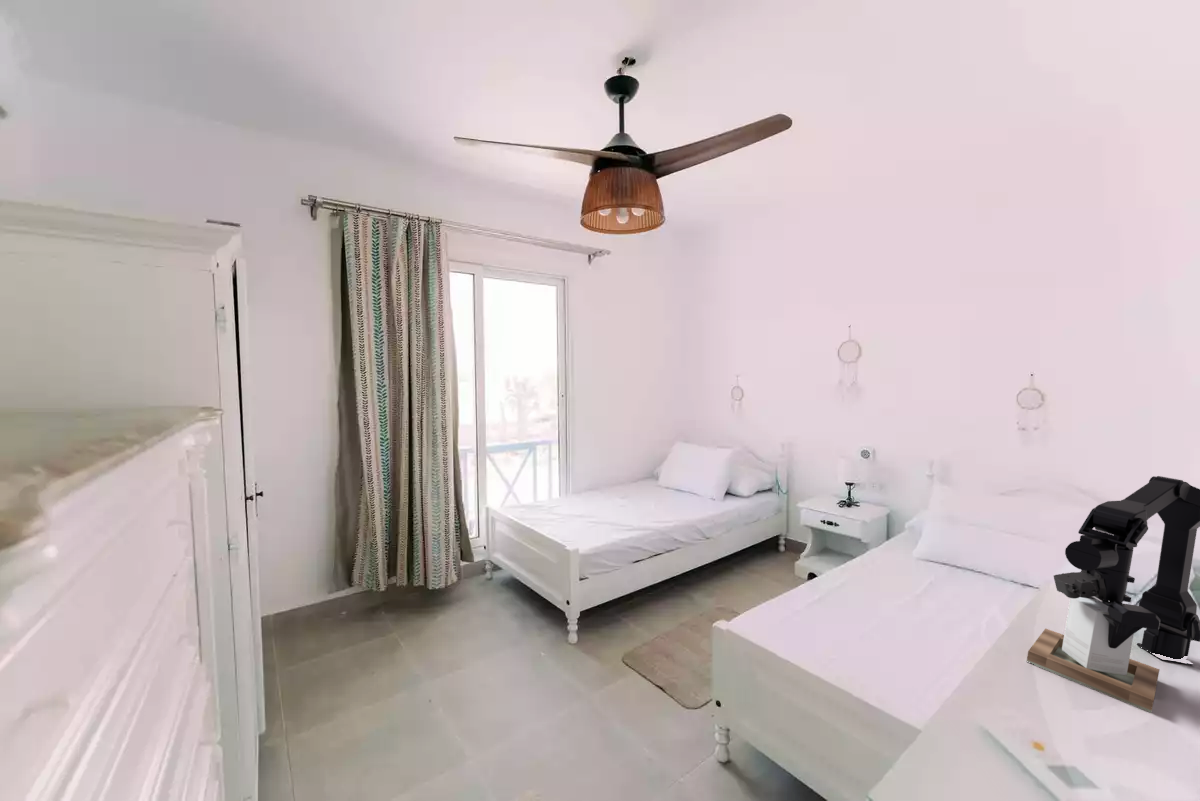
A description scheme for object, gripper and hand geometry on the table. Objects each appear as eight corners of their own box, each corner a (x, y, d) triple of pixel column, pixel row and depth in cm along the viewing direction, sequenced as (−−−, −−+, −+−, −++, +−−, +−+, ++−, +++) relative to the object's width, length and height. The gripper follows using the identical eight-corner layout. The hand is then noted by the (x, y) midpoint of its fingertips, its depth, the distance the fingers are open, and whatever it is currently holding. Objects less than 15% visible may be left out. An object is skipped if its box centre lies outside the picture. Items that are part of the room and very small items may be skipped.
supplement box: (1128, 676, 100) (1139, 617, 99) (1085, 669, 101) (1095, 610, 100) (1099, 656, 107) (1108, 600, 106) (1059, 649, 108) (1069, 594, 107)
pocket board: (1043, 638, 117) (1045, 628, 116) (1157, 680, 103) (1159, 669, 102) (1026, 661, 105) (1028, 650, 105) (1151, 713, 91) (1153, 700, 91)
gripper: (1035, 544, 113) (1024, 609, 114) (1100, 578, 95) (1087, 655, 96) (1091, 552, 111) (1080, 618, 112) (1169, 588, 93) (1154, 667, 94)
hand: (1097, 637), depth 103 cm, fingers closed on supplement box, 7 cm apart
